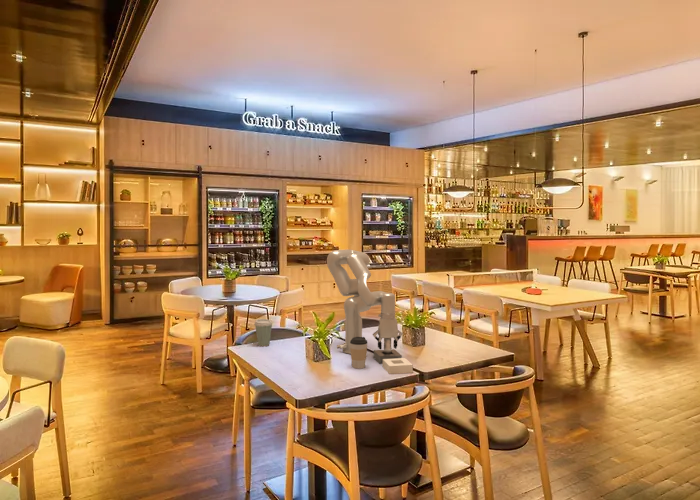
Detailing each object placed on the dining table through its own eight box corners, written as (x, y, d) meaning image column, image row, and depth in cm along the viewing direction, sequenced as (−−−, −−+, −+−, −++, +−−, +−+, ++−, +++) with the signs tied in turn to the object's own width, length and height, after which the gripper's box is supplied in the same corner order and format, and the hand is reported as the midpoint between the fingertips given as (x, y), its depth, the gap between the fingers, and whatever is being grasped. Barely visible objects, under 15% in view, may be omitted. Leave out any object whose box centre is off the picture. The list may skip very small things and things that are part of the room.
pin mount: (379, 364, 256) (379, 356, 256) (373, 357, 267) (373, 350, 267) (401, 362, 258) (401, 355, 258) (394, 356, 270) (394, 349, 270)
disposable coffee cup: (276, 344, 292) (276, 319, 292) (263, 348, 283) (263, 323, 282) (263, 342, 298) (263, 317, 297) (250, 345, 289) (250, 320, 288)
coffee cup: (354, 370, 245) (355, 340, 244) (346, 365, 253) (346, 336, 252) (370, 367, 249) (370, 338, 248) (361, 363, 257) (362, 334, 256)
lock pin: (384, 361, 261) (385, 339, 260) (382, 359, 264) (382, 337, 264) (391, 361, 261) (392, 338, 261) (389, 358, 265) (390, 337, 265)
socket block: (389, 374, 239) (389, 366, 239) (382, 366, 251) (382, 359, 251) (412, 372, 242) (412, 364, 242) (404, 365, 254) (404, 357, 253)
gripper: (374, 318, 256) (373, 351, 257) (405, 316, 260) (405, 349, 261) (370, 315, 263) (370, 347, 264) (401, 314, 267) (400, 345, 268)
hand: (387, 348), depth 263 cm, fingers open, 7 cm apart
